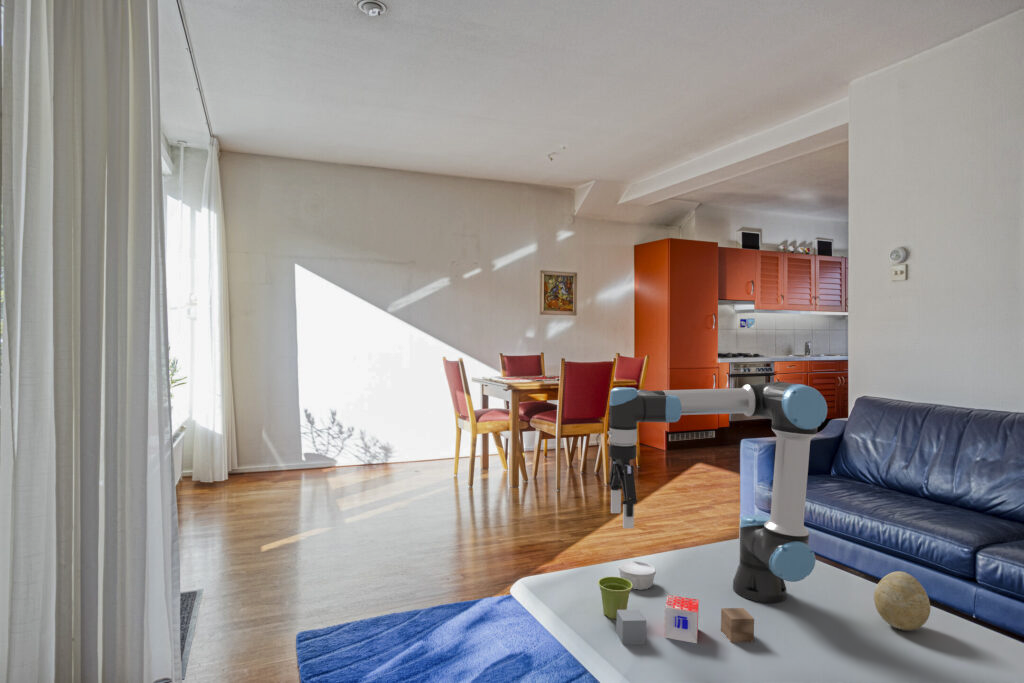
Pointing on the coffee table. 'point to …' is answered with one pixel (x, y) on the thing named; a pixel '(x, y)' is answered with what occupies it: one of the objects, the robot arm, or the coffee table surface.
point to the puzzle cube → (681, 618)
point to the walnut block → (737, 624)
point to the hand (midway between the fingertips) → (621, 520)
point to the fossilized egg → (902, 601)
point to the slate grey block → (631, 627)
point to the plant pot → (614, 594)
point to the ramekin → (637, 574)
